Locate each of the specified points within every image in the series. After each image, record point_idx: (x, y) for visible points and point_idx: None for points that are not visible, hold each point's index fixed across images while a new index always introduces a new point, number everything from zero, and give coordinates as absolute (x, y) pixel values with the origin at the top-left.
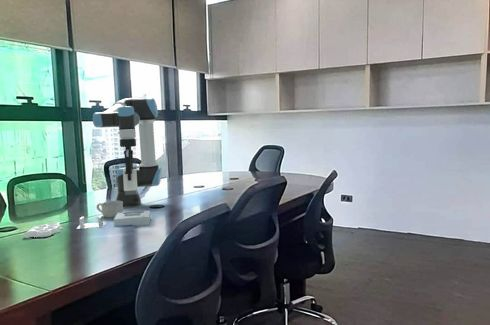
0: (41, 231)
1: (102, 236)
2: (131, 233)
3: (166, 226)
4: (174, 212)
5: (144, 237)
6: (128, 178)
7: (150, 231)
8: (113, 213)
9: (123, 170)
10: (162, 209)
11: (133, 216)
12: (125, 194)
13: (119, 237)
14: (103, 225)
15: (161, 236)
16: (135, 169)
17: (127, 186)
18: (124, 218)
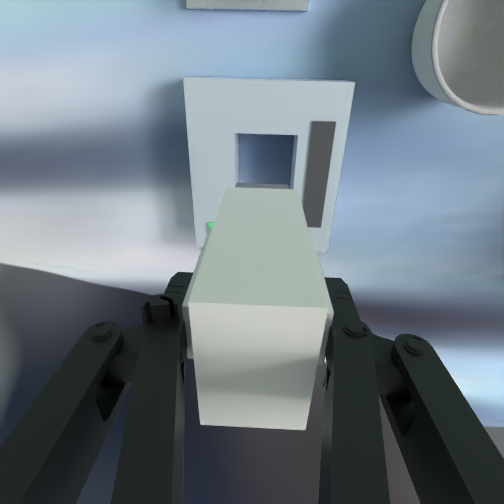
0: None
1: (25, 32)
2: (73, 167)
3: (161, 284)
4: (386, 319)
5: (15, 216)
6: (168, 290)
7: (97, 234)
8: (414, 46)
9: (189, 310)
10: (485, 283)
11: (221, 182)
12: (235, 186)
13: (11, 121)
14: (216, 4)
15: (29, 265)
16: (245, 423)
17: (207, 233)
18: (188, 139)
